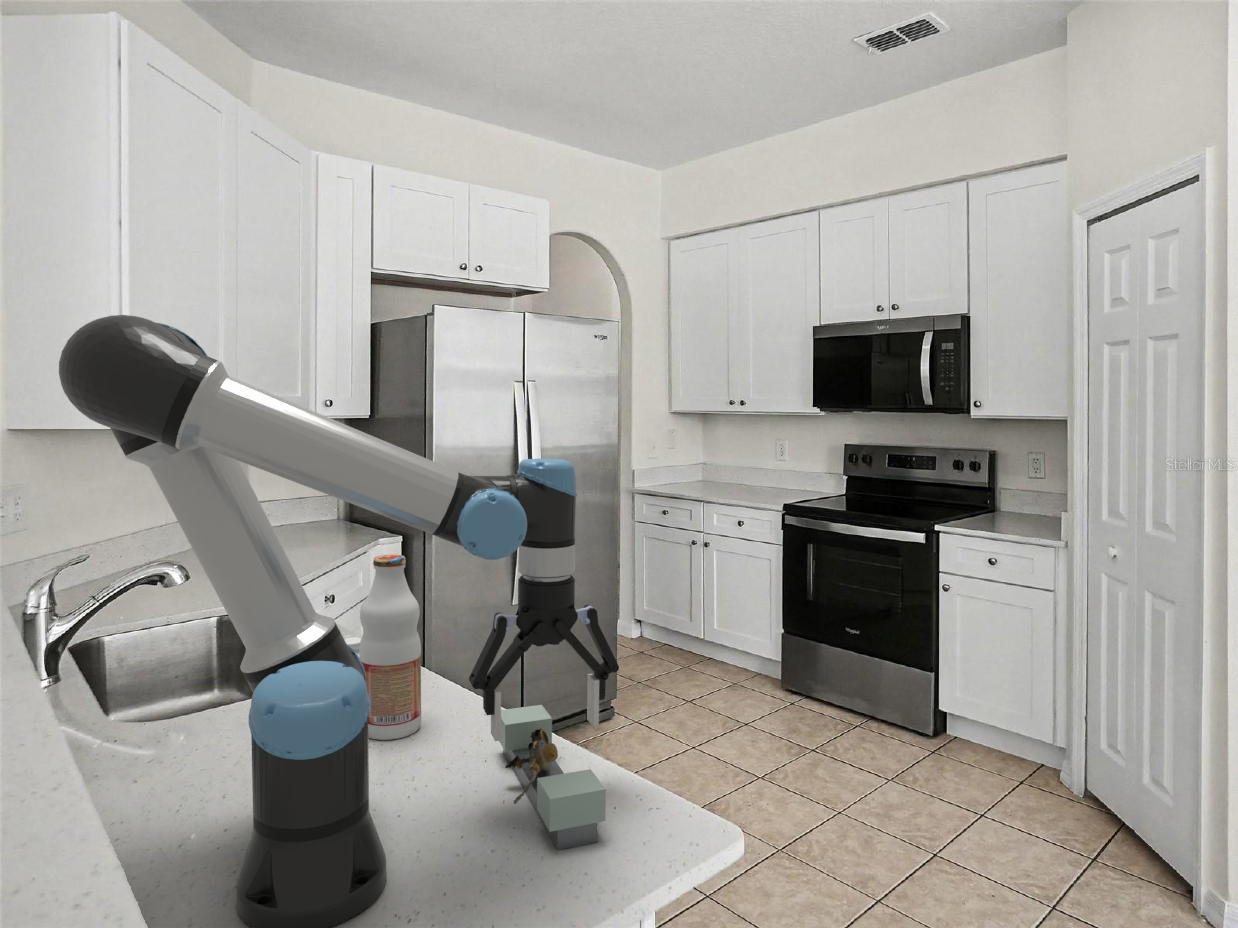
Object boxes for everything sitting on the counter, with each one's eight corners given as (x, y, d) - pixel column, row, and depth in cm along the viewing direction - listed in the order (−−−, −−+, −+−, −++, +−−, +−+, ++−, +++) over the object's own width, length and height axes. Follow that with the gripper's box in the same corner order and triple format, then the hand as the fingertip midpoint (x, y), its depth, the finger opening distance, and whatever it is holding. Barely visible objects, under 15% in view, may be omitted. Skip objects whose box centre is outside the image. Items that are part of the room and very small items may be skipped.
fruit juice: (393, 746, 121) (391, 565, 119) (347, 733, 126) (344, 559, 123) (433, 724, 130) (432, 555, 127) (389, 713, 134) (387, 549, 132)
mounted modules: (549, 831, 94) (550, 799, 93) (496, 736, 120) (496, 710, 119) (605, 820, 96) (605, 789, 96) (541, 729, 122) (541, 704, 122)
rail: (557, 850, 94) (557, 830, 94) (503, 751, 120) (503, 735, 120) (597, 842, 96) (597, 822, 96) (535, 746, 122) (535, 730, 122)
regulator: (542, 812, 99) (569, 741, 114) (530, 785, 99) (559, 718, 113) (489, 823, 101) (522, 752, 116) (477, 796, 101) (512, 729, 115)
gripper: (623, 563, 114) (620, 707, 116) (447, 575, 105) (447, 731, 106) (643, 574, 107) (641, 727, 109) (457, 588, 98) (457, 755, 99)
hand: (545, 729), depth 107 cm, fingers open, 13 cm apart
